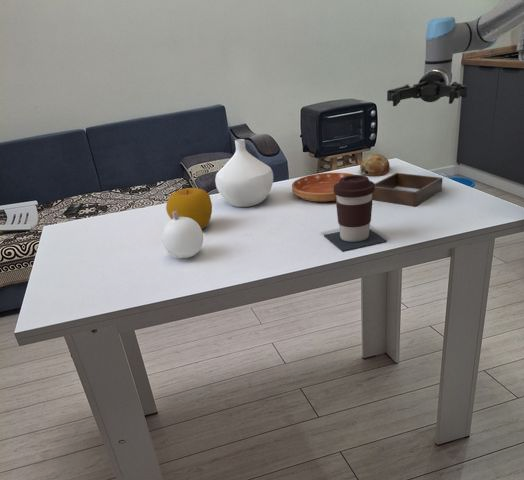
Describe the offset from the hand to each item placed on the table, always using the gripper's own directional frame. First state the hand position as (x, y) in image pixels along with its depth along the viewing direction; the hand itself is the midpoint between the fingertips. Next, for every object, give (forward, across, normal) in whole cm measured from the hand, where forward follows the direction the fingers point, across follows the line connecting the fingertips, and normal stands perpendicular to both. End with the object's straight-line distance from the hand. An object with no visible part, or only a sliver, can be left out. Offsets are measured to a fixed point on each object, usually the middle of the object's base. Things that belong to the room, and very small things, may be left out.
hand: (422, 99), depth 133 cm
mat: (+21, +12, -29) cm, 38 cm away
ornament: (+38, +53, -29) cm, 71 cm away
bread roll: (-40, +20, -29) cm, 53 cm away
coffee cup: (+21, +12, -29) cm, 38 cm away
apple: (+19, +61, -29) cm, 70 cm away
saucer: (-16, +30, -29) cm, 45 cm away
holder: (-15, +5, -29) cm, 33 cm away
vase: (-6, +54, -29) cm, 62 cm away
